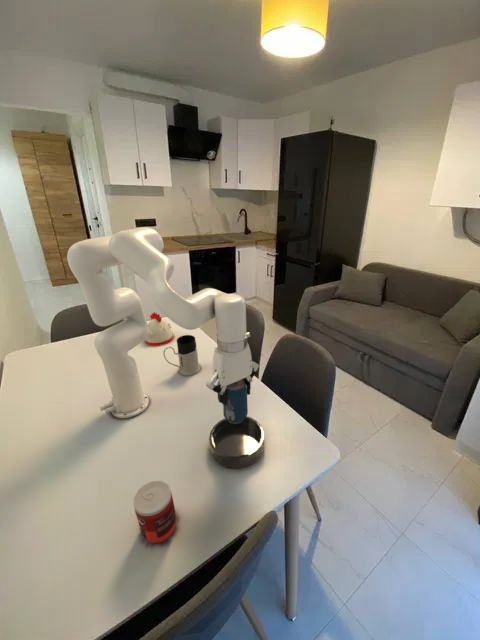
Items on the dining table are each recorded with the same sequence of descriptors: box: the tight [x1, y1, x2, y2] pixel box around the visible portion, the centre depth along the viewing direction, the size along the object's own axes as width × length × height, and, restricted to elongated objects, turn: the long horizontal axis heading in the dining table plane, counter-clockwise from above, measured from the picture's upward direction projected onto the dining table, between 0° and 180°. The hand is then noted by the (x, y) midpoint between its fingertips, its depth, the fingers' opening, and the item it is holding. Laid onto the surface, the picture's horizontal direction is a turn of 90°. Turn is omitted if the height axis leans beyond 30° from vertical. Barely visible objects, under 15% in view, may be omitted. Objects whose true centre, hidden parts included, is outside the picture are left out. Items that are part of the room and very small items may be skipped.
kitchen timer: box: [144, 312, 174, 347], centre depth 148 cm, size 14×14×15 cm
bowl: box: [208, 415, 265, 469], centre depth 88 cm, size 16×16×4 cm
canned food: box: [133, 480, 178, 544], centre depth 66 cm, size 8×8×11 cm
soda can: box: [222, 379, 249, 424], centre depth 82 cm, size 7×7×12 cm
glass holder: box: [162, 334, 201, 376], centre depth 122 cm, size 9×14×15 cm, turn 125°
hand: (234, 397), depth 81 cm, fingers closed on soda can, 7 cm apart
